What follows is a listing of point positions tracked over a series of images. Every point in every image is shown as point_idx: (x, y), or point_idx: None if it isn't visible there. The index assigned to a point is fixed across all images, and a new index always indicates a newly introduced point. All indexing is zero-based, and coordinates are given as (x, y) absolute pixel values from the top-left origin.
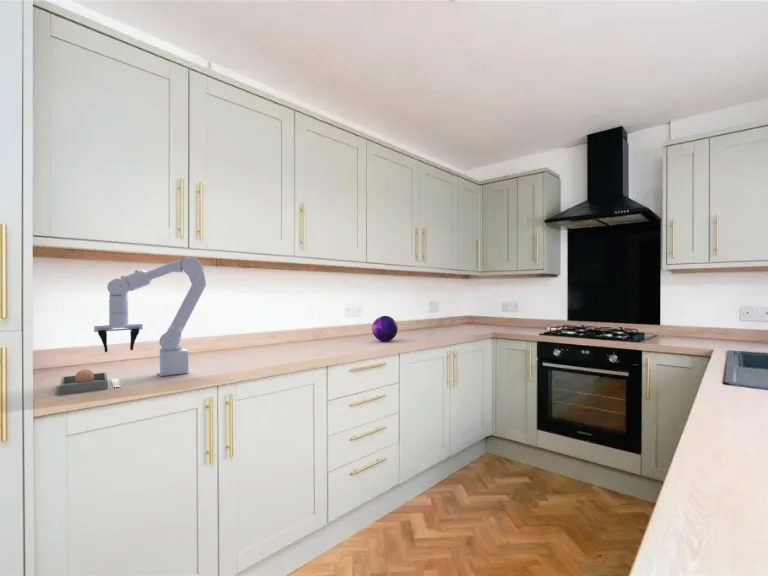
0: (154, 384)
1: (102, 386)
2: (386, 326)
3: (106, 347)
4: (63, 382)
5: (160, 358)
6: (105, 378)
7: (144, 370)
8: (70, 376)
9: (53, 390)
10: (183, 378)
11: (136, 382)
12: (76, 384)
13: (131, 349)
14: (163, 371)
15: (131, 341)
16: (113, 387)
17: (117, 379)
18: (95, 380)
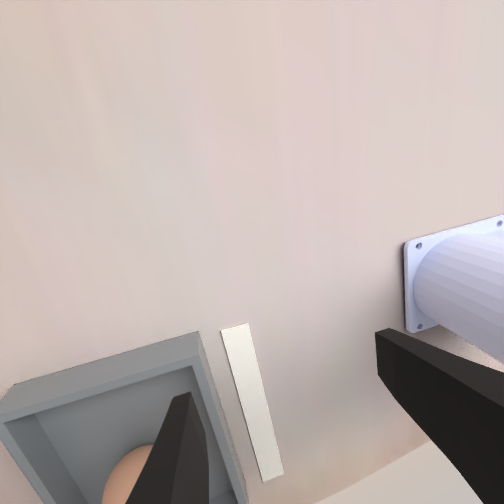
0: (377, 450)
1: (231, 499)
2: None
3: (202, 492)
4: (57, 488)
5: (482, 340)
6: (234, 486)
7: (349, 118)
8: (32, 412)
9: None
10: None
11: (325, 409)
12: None
13: (387, 377)
14: (431, 318)
15: (452, 463)
16: (261, 474)
17: (249, 344)
18: (163, 376)
